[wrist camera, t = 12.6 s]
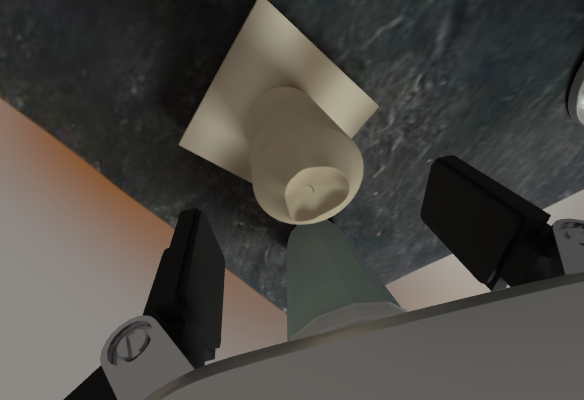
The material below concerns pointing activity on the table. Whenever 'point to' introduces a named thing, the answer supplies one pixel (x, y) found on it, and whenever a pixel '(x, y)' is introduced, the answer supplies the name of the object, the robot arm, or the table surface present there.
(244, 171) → the plinth
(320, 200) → the candle
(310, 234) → the disposable coffee cup
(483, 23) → the table surface
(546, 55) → the table surface
